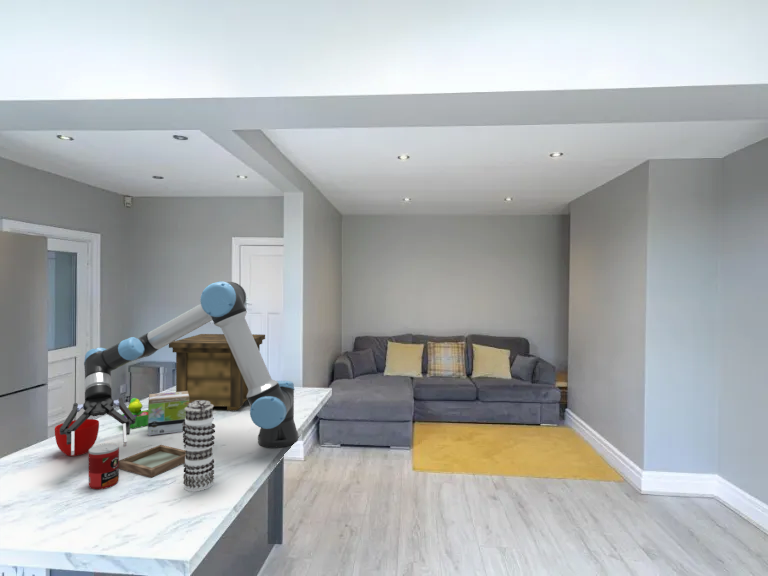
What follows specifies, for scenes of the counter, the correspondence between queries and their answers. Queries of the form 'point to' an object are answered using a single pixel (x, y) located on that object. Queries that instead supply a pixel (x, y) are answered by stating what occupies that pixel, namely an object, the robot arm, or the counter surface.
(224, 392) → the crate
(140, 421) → the fruit basket
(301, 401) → the counter surface
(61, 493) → the counter surface
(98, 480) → the canned food
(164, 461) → the tray
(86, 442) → the ceramic cup
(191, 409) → the decorative candle
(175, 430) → the tea box
